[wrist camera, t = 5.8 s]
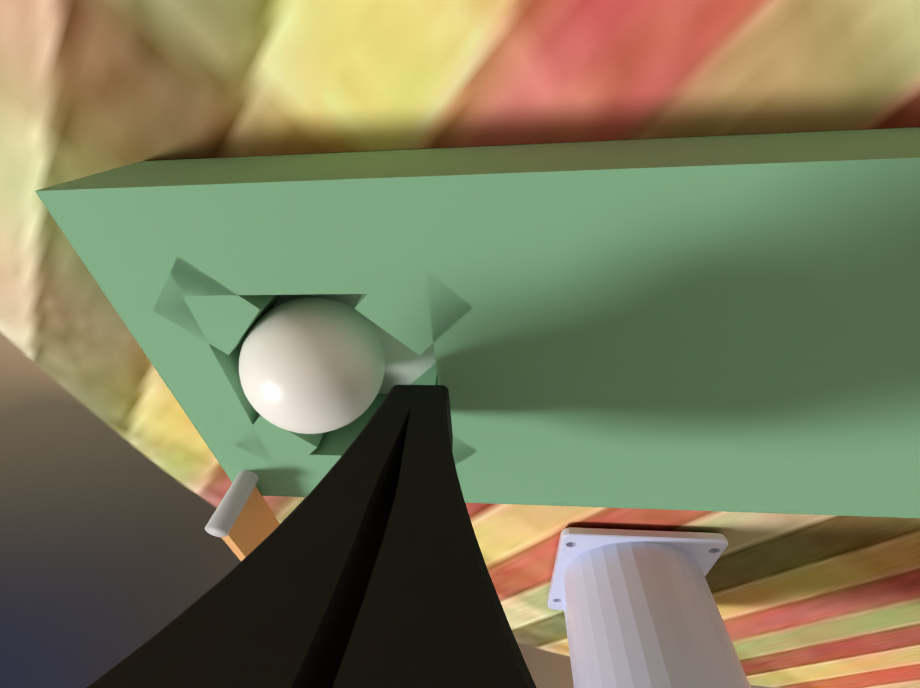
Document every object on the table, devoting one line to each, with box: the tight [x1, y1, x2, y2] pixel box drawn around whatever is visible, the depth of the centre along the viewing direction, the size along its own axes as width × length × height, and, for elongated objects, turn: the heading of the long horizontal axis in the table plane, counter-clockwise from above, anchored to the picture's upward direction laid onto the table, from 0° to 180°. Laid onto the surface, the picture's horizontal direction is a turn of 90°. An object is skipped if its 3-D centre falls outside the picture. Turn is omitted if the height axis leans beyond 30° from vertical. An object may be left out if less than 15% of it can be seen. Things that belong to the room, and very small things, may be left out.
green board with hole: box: [35, 127, 920, 561], centre depth 11 cm, size 13×26×5 cm, turn 93°
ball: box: [239, 297, 385, 434], centre depth 11 cm, size 4×4×4 cm
